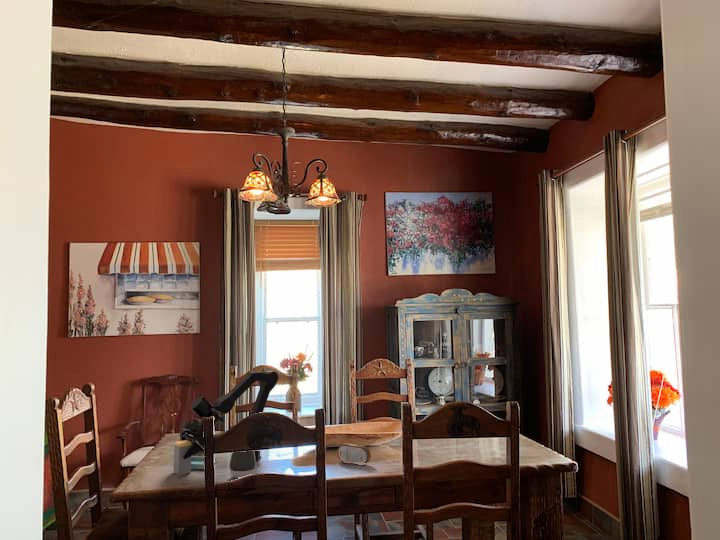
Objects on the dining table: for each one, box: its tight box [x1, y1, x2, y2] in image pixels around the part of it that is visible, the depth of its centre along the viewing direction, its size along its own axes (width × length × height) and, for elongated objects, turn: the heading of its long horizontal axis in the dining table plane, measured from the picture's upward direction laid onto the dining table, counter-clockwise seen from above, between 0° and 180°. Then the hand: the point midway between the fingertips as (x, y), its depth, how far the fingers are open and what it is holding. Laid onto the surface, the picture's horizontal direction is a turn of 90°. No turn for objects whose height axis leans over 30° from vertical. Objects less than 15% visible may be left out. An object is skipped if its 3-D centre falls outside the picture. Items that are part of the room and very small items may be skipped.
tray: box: [191, 455, 217, 470], centre depth 217 cm, size 11×11×2 cm
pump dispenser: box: [229, 451, 257, 479], centre depth 203 cm, size 10×10×15 cm
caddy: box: [173, 440, 192, 476], centre depth 207 cm, size 5×5×12 cm
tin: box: [336, 442, 372, 464], centre depth 222 cm, size 15×3×8 cm, turn 65°
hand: (179, 456), depth 206 cm, fingers open, 8 cm apart
